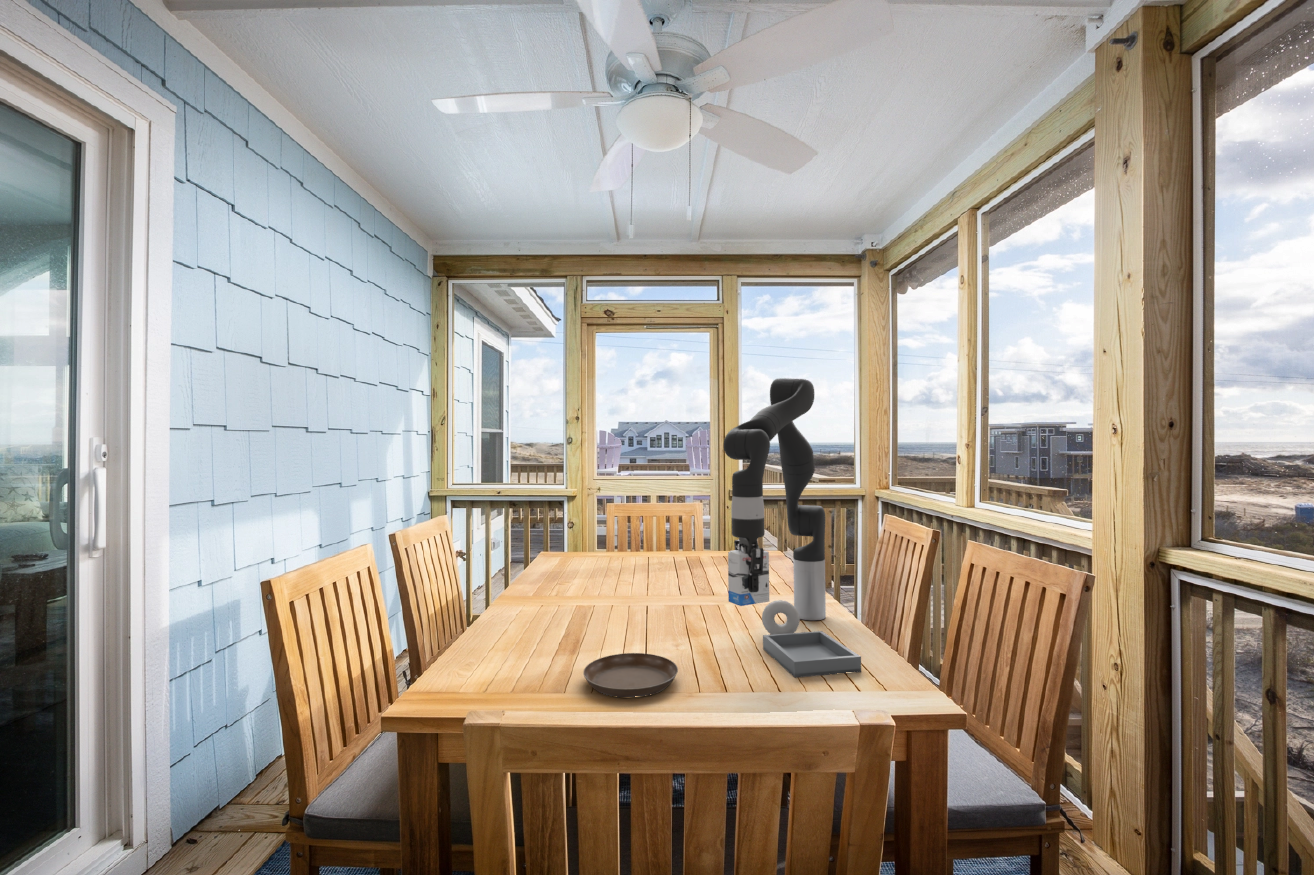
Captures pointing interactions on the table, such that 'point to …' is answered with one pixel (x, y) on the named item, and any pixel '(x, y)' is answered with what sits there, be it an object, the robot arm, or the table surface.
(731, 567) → the ink box
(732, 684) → the table surface
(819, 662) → the tray
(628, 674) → the plant saucer
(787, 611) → the donut
